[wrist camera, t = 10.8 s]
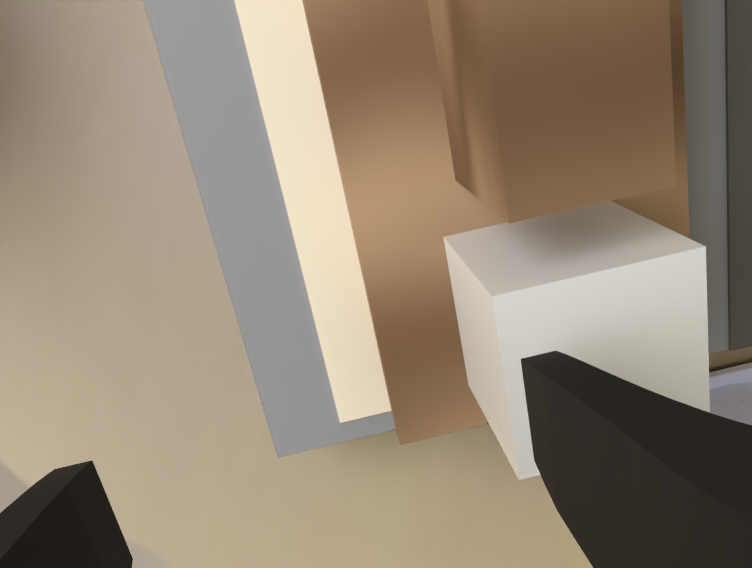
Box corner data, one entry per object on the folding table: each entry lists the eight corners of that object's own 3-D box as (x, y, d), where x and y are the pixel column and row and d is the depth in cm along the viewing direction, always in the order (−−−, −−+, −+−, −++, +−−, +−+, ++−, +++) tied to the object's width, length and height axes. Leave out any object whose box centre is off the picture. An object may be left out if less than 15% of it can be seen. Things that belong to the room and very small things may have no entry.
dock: (708, 304, 23) (768, 341, 20) (279, 405, 22) (277, 459, 19) (692, -401, 16) (778, -497, 14) (81, -290, 16) (34, -365, 13)
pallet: (655, 342, 20) (801, 460, 14) (389, 406, 19) (431, 553, 14) (614, -395, 14) (841, -701, 8) (229, -324, 13) (186, -593, 8)
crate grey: (618, 349, 17) (710, 432, 14) (468, 384, 17) (519, 480, 13) (607, 199, 16) (705, 246, 12) (443, 236, 16) (491, 296, 12)
